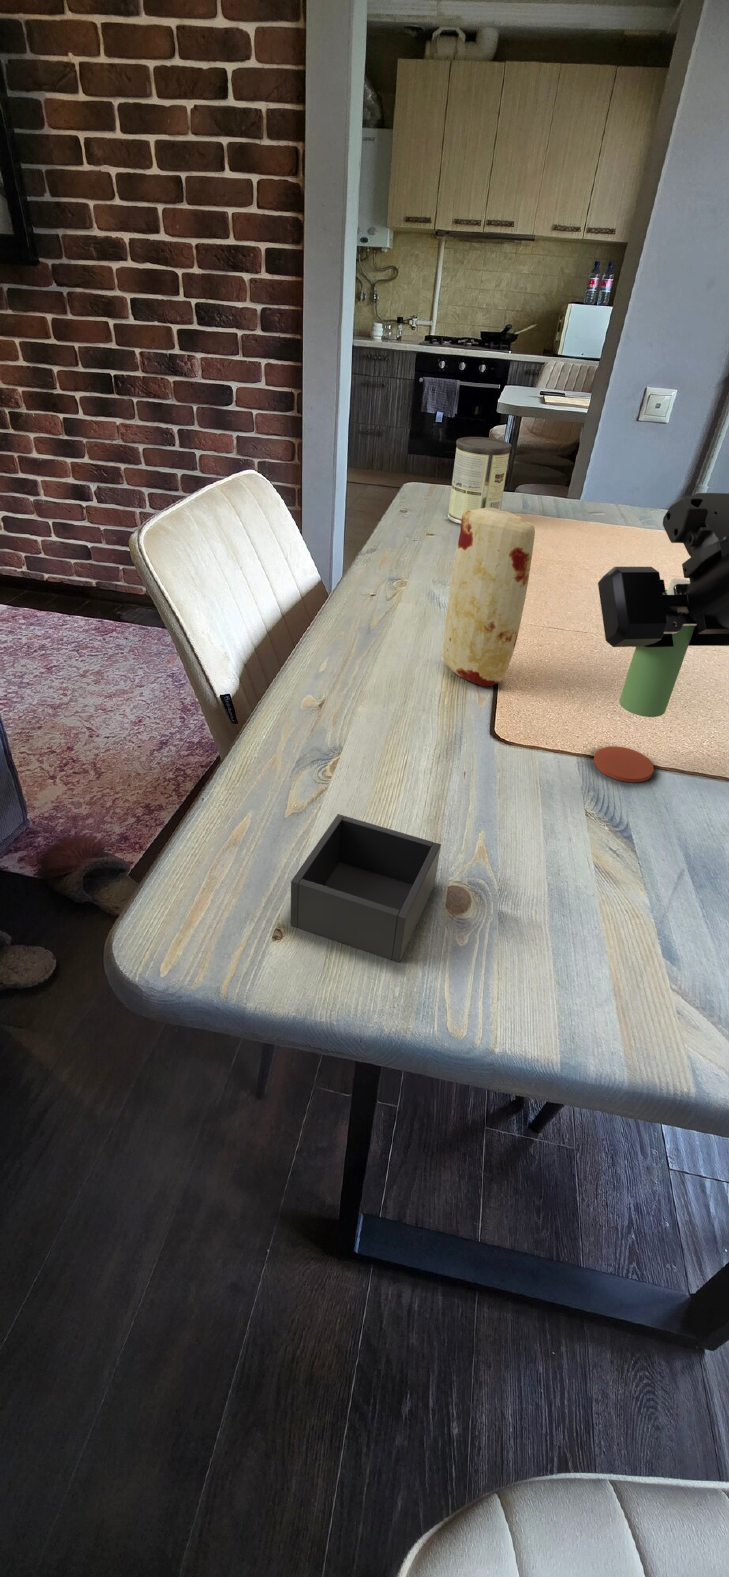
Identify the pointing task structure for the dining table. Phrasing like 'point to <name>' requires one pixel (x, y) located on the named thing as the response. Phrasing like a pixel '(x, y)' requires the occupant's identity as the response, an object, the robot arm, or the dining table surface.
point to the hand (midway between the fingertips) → (654, 641)
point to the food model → (487, 594)
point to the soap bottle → (655, 672)
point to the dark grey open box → (365, 886)
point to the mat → (623, 764)
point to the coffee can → (478, 475)
